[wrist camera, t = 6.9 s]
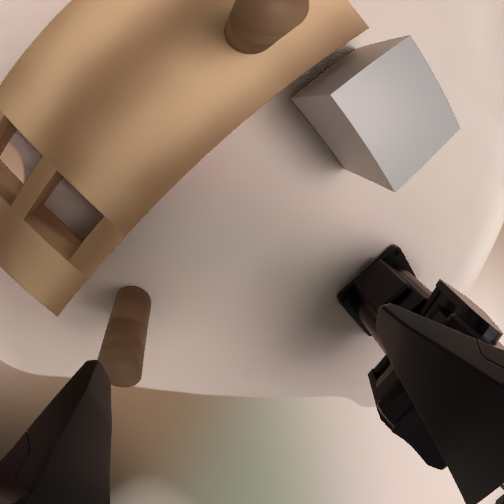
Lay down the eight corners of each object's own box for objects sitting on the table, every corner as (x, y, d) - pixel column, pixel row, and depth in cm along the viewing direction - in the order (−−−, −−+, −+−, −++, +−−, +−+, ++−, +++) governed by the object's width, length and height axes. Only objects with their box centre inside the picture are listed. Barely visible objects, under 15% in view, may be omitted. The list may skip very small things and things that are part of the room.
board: (346, 36, 16) (423, 11, 9) (70, 292, 20) (32, 368, 13) (226, -81, 11) (247, -150, 4) (-36, 188, 15) (-104, 228, 8)
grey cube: (401, 118, 19) (460, 128, 14) (344, 169, 20) (395, 192, 15) (355, 48, 17) (410, 35, 11) (290, 98, 18) (330, 94, 12)
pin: (158, 301, 22) (150, 372, 16) (136, 321, 22) (125, 393, 16) (130, 279, 21) (111, 347, 14) (109, 301, 21) (88, 370, 15)
